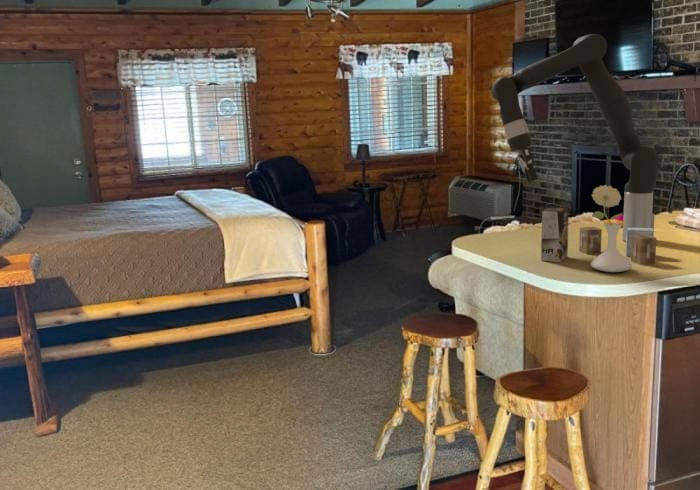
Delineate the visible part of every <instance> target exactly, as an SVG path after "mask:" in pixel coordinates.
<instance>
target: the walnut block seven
mask: <svg viewBox="0 0 700 490" xmlns="http://www.w3.org/2000/svg"><path fill="white" fill-rule="evenodd" d="M602 231H603V230H602V228H599V227H596V226H586V227H585V226H584V227H583V226H581V227H579V243H578V244H579V245H578V246H579V252H581V253H583V254H585V255H595V254H596V253H597V254H602V233H603V232H602Z"/></svg>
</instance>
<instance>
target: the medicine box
mask: <svg viewBox="0 0 700 490" xmlns="http://www.w3.org/2000/svg"><path fill="white" fill-rule="evenodd" d="M637 235H649V236H653V237H655V229H654V230H653V229H652V228H627V230H626V241H625V257H631V244H632V236H637Z"/></svg>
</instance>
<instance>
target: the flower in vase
mask: <svg viewBox="0 0 700 490" xmlns="http://www.w3.org/2000/svg"><path fill="white" fill-rule="evenodd" d="M591 197H592V199H593V201H594V202H595V204H597V205H599V206H603V212H601V211H599V210H598V211H595V212H594V213H593V214H591V218H596V219H600V220H602V219H604V217H605V218H606V220H608V221H609V223H605V224H604V223H603V226H604V227H605V229H606V232H607V233H606V234H607V239H608V240H607V247H606V249H605V250H604V251H603V252H601V253H599V254H598V255H597V256H595V258H593V259H592V260H591V262H590V266H591V267H592V268H593V269H594V270H598V271H601V272H606V273H620V272H626V271H628V270H631V269H632V268H633V264H632V261H631V260H629V259H628V257H627V256H626V255H623V254H622V253H621V252H620V251H619V250H618V248H617V238H618V232H619V230H620V229H621V228H622V227H621V226H622V224H620V223H611V222H610V220H612V219H616V218H618V217H619V216H620V215H623V214H624V211H622V212H621V213H618V214H615V215H613V216H611V218H609V217H608V216H607V213H606V208H611V207H615V206H618V205H619V203H620V202H621V201H620V200H622V196H621V194H620V191H618V189H617V188H613V187H612V185H608V186H607V184H604V185H599V186H598V187H595V188H594V189H593V191H592V194H591Z"/></svg>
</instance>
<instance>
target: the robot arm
mask: <svg viewBox="0 0 700 490" xmlns="http://www.w3.org/2000/svg"><path fill="white" fill-rule="evenodd" d="M607 45H608V43H607V40H606V39H605V38H604V37H603V36H602V35H601V34H597V33H589V34H585V35H583V36H580V37H577V39H576V40H575V41H574V42H573V44H572V46H571V47H570V48H567V49H566V50H563V51H560V52H559V53H557V54H555V55H551V56H549V57H546V58H542V59H540V60H538V61H536V62H534V63H532V64H529V65H527V66H526V67H523V68H521V69H519V70H518V71H517V72H515V73H514V74H512V75H509V76H501V77H499V78H497V79H496V81H494V83H493V85H492V87H491V89H490V90H491V92H490V93H491V97H492V98H493V99H494V100H496V101H497V102H498V105H499V116H500V120H501V122H502V125H503V128H504V129H503V130H504V134H505V136H506V139H507V143H508V147H509V149H510V152H511V153H515V152H518V154H517V156H516V157H517V158H518V162H519V165H520V168H521V171H522V172H523V173H524V177H525V179H526V182H527V183H532V182H534V181H537V180H538V175H537V172H536V163H535V161H534V157H533V154H532V151H531V148H530V147H532V146H533V145H534V143H533V139H532V137H531V134H530V131H529V128H528V125H527V123H526V121H525V117H524V114H523V112H522V109H521V106H520V101H519V100H520V99H519V94H521V93H522V92H524V91H526V90H528V89H531V88H533V87H536V86H537V85H539V84H542V83H544V82H546V81H548V80H550V79H552V78H554V77H556V76H558V75H560V74H562V73H564V72H566V71H569V70H571V69H573V68H576V67H579V70H580V71H581V72H582V73H583V74H582V75H584V77H585V79H586V81H587V83H588V85H589V88H590V90H591V93H592V95H593V97H594V100H595V101H596V104H597V107H598V109H599V110H600V113H601V115H602V117H603V119H604V120H605V122H606V125H607V127H608V129H609V131H610V133H611V134H612V137H613V138H614V141H615V144H616V146H617V148H618V149H617V150H618V153H619V154H620V158H621V161H622V164H623V165H624V167H625V168H626V169H627V170H629V171H630V172H629V180H628V182H627V183H625V186H624V196H623V198H624V199H623V215H624V218H623V227H622V241H624V242H626V230H627V228H652V229H653V230H654V231H655V216H656V215H655V213H653V204H654V201H653V200H654V190H655V189H654V188H655V186H656V183H657V180H658V179H657V177H658V166H659V158H658V153H657V152H656V150H655V149H654V147H653V148H652V147H650V146H646V145H644V144H642V142H641V140H640V139H639V137H638V134H637V133H636V130H635V126H634V119H633V118H634V117H633V110H632V107H631V104H630V102H629V100H628V98H627V95H626V93H625V91H624V89H623V88H622V87H621V85H620V84H619V83H618V81H616V79H615V78H614V77H613V76H612V75H611V74H610V72H609V70H607V68H606V65H605V63H604V61H603V57H604V56H605V54H606V52H607V49H608V46H607Z"/></svg>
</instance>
